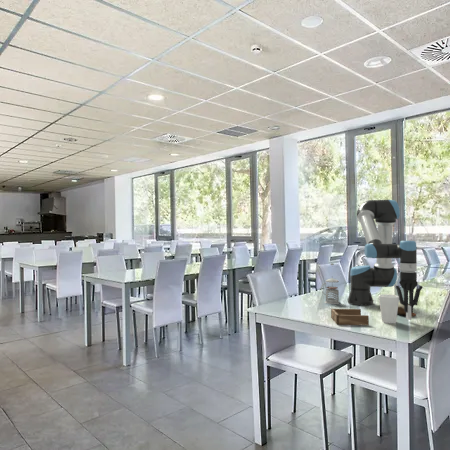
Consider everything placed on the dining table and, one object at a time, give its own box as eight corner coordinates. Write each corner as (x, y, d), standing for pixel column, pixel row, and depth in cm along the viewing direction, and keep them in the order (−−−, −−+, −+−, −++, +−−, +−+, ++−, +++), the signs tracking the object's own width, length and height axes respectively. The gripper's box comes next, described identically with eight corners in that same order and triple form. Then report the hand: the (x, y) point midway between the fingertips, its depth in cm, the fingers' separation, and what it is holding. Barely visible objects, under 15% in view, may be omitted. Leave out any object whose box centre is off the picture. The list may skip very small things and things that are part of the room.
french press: (341, 304, 241) (340, 263, 241) (321, 303, 243) (321, 263, 244) (339, 301, 251) (339, 262, 251) (321, 300, 253) (320, 262, 253)
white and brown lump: (394, 309, 221) (407, 297, 217) (408, 323, 216) (422, 311, 211) (386, 311, 213) (399, 299, 208) (400, 327, 207) (414, 314, 203)
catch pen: (331, 317, 206) (331, 308, 206) (360, 317, 204) (360, 309, 204) (336, 324, 190) (336, 315, 190) (368, 325, 188) (368, 315, 188)
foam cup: (394, 319, 200) (393, 294, 200) (402, 323, 191) (402, 297, 191) (375, 319, 200) (375, 294, 200) (383, 324, 190) (383, 297, 191)
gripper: (397, 272, 191) (397, 320, 191) (425, 272, 190) (425, 321, 190) (392, 270, 199) (392, 317, 199) (418, 270, 198) (419, 317, 197)
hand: (408, 318), depth 194 cm, fingers closed
